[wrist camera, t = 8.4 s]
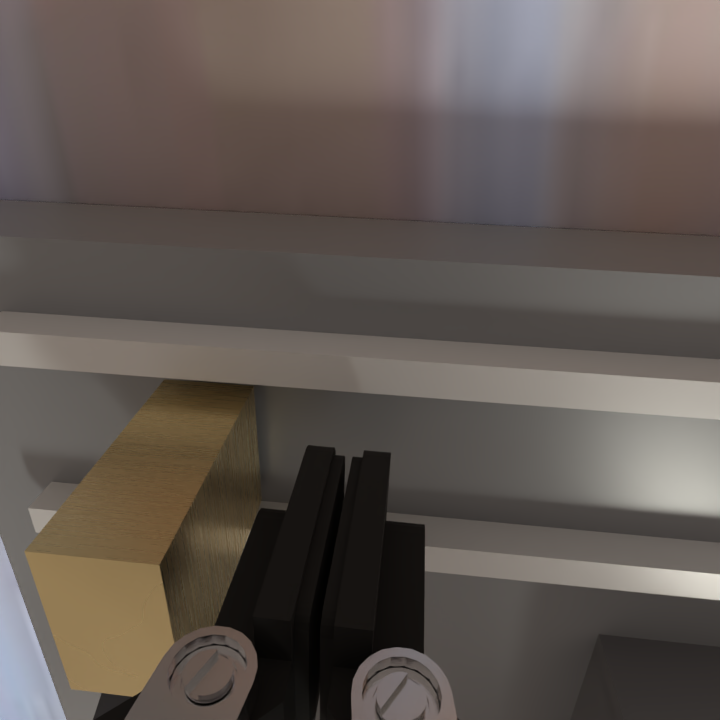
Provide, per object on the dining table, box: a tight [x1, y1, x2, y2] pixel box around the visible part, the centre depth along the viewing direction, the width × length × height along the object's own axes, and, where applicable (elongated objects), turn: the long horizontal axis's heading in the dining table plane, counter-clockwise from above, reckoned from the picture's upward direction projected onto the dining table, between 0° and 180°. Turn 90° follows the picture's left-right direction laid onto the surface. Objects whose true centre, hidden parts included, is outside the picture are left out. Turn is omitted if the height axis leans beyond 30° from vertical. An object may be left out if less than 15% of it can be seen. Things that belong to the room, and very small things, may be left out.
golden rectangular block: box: [24, 379, 262, 697], centre depth 11 cm, size 2×3×5 cm, turn 179°
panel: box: [0, 200, 720, 720], centre depth 15 cm, size 25×18×6 cm
